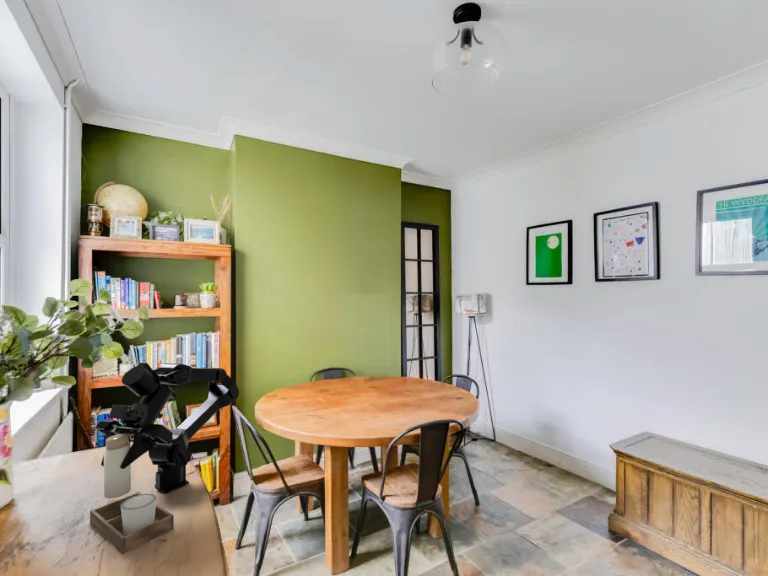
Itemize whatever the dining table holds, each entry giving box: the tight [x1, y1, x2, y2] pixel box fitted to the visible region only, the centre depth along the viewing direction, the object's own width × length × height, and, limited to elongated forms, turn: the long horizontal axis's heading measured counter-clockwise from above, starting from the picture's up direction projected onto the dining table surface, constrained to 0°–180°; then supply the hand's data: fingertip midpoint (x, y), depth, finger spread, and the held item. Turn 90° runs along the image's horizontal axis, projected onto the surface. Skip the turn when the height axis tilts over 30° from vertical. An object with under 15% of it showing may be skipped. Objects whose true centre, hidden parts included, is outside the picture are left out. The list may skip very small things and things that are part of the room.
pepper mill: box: [103, 434, 132, 499], centre depth 91 cm, size 5×5×13 cm
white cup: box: [120, 493, 158, 537], centre depth 85 cm, size 7×7×7 cm
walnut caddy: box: [89, 491, 175, 555], centre depth 88 cm, size 10×18×3 cm, turn 54°
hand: (112, 467), depth 89 cm, fingers closed on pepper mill, 5 cm apart
